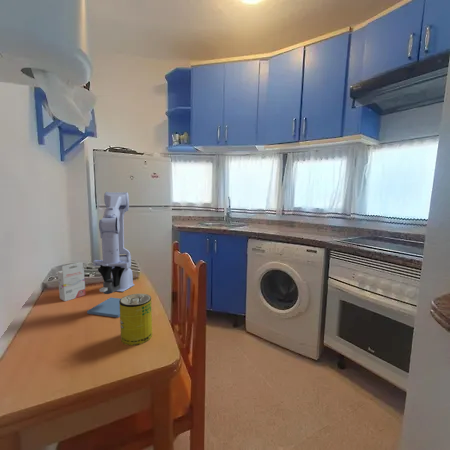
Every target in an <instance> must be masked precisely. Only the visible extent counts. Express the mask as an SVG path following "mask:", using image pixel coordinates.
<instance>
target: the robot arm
mask: <svg viewBox="0 0 450 450" xmlns="http://www.w3.org/2000/svg"><path fill="white" fill-rule="evenodd" d="M129 194H130V193H128V191H125V192H124V191H122V192H121V191H118V192H115V191H114V192H113V191H112V192H111V191H106V192H104V195H103V201H104V202H103V203H104V204H105V207H106V208H105V210H104V213H103V215H102V218H101V219H99V222H98V229H99V235H100V239H101V250H102V259H95V260H93V261H92V262H93V263H92V265H93V267H98V266H99V267H98V268H97V271H98V272H99V274H100V275H101V278H102V279H103V282H104V281H107V280H109V279H111V278H113V282H114V287H117V286H118V285H119V283H120V287H121V288H120V289H118V290H117V291H116V292H118V293H119V292H121V293H122V292H125V291H127V290H129V289H130V288H132V287H134V286H135V283H134V279H133V278H134V277H133V269H131V267H132V254H131V252H130V250H129V249H127V248H126V247H125V228H124V227H125V224H124V223H125V221H124V219H125V213H126V212H128V211H129V209H130V196H129Z"/></svg>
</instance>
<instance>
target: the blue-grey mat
mask: <svg viewBox="0 0 450 450" xmlns="http://www.w3.org/2000/svg"><path fill="white" fill-rule="evenodd" d="M120 299H121V298H118V297H108V298H107V299H106V300H104V301H102V302H100V303H98V304H97V305H95V306H93V307H92V308H90V309H88V310H87V311H86V314H88V315H96V316H101V317H102V316H103V317H111V318H117V319H118V318H119V319H120V304H119V301H120Z"/></svg>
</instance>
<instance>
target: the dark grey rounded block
mask: <svg viewBox="0 0 450 450" xmlns="http://www.w3.org/2000/svg"><path fill="white" fill-rule="evenodd" d="M120 288H121V287H120V283H119V285H118V286H117V287H114V282H113V278H111V279H109V280H107V281H104V280H103V282H102V287H101V288H98V289H99V293H100V292H101V293H103V294H104V295H110V294H113V293H115V292H118V291H117V290H118V289H120Z"/></svg>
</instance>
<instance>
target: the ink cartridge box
mask: <svg viewBox="0 0 450 450" xmlns="http://www.w3.org/2000/svg"><path fill="white" fill-rule="evenodd" d="M57 280H58V282H57V283H58V293H59V299H60V300H62V301H64V302H68V301H70V300H73V299H78V298H81V297H84V296H86V282H85V281H86V280H85V269H84V263H83V262H82V261H81V262H76V263H75V262H74V263H71V264H67V265H62V266H61V270H60V271H57Z"/></svg>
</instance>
